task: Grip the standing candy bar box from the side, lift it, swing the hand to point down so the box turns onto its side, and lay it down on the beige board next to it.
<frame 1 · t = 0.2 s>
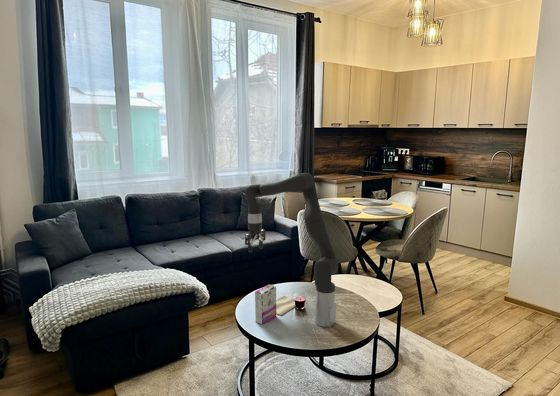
hand: (255, 250, 208), 28 cm above the table, tool pointing down, fingers open, 8 cm apart
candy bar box: (265, 319, 190), on the table
beige board: (282, 305, 205), on the table
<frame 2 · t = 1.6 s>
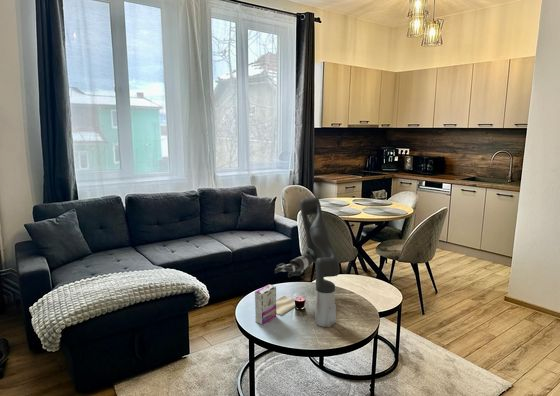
hand: (281, 273, 197), 20 cm above the table, tool horizontal, fingers open, 8 cm apart
nothing on the table moved.
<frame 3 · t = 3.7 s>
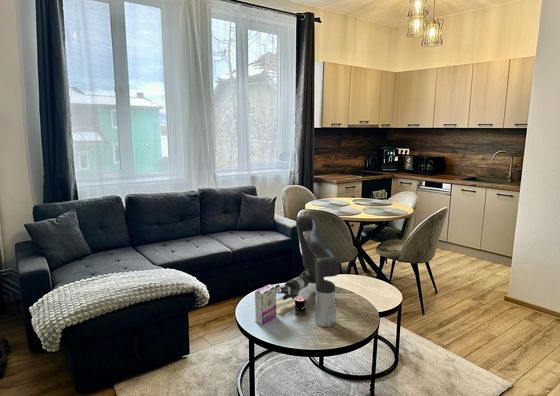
hand: (276, 296, 196), 9 cm above the table, tool horizontal, fingers open, 8 cm apart
nothing on the table moved.
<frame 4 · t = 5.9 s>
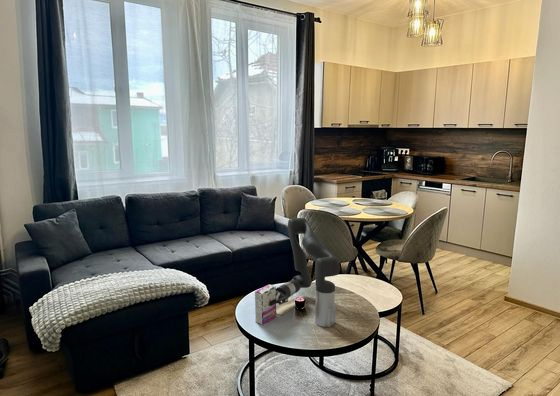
hand: (265, 302, 188), 9 cm above the table, tool horizontal, fingers closed on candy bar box, 5 cm apart
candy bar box: (265, 319, 190), on the table, touching gripper
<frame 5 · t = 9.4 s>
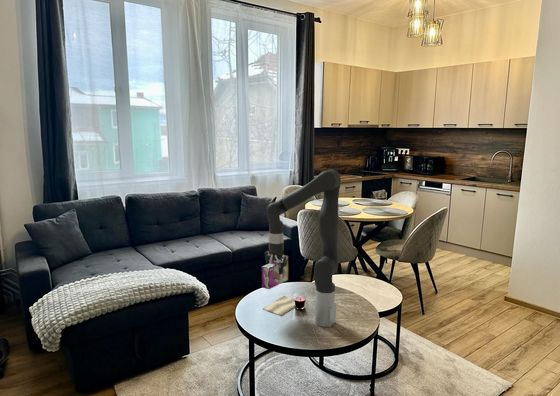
hand: (276, 272, 195), 21 cm above the table, tool pointing down, fingers closed on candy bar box, 5 cm apart
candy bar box: (265, 278, 187), point 21 cm above the table, touching gripper
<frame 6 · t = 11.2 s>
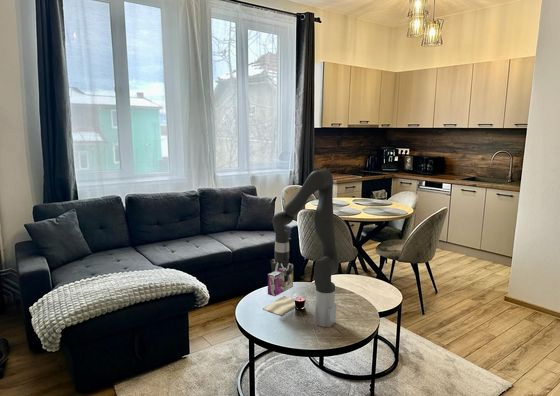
hand: (281, 280, 201), 15 cm above the table, tool pointing down, fingers closed on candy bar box, 5 cm apart
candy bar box: (271, 285, 194), point 15 cm above the table, touching gripper
when the fingers open (7 cm above the table, at t = 13.0 s): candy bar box drops 1 cm, resting on beige board.
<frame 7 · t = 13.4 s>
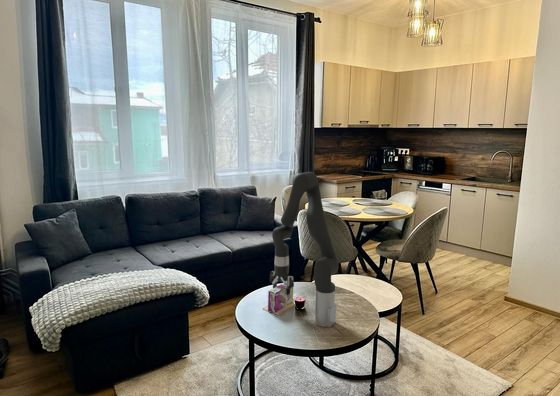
hand: (281, 292, 202), 8 cm above the table, tool pointing down, fingers open, 8 cm apart
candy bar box: (271, 302, 195), point 6 cm above the table, touching beige board
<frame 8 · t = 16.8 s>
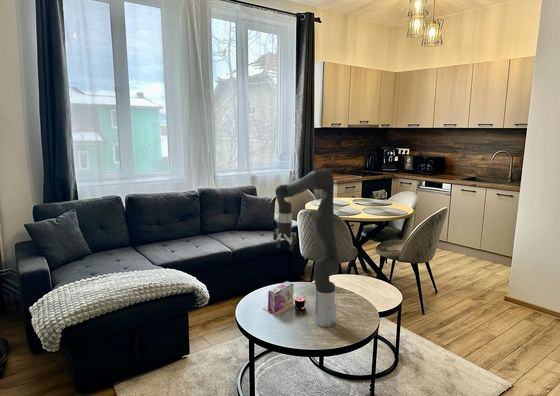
hand: (284, 249, 211), 28 cm above the table, tool pointing down, fingers open, 8 cm apart
nothing on the table moved.
at the end: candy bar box tilted 89°; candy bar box touching beige board; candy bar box 10.3 cm from the beige board (horizontally) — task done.
